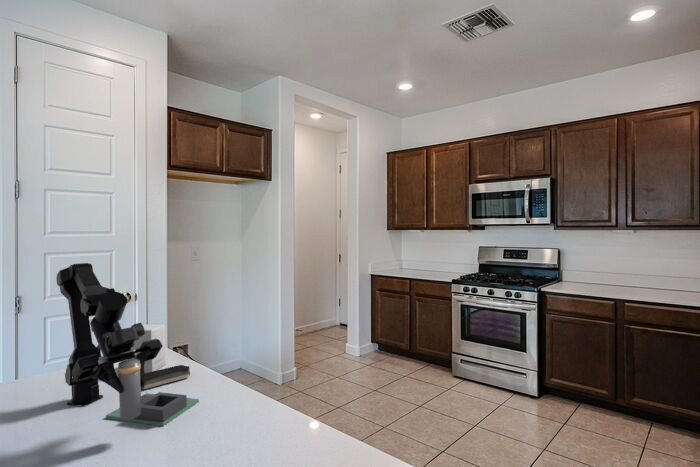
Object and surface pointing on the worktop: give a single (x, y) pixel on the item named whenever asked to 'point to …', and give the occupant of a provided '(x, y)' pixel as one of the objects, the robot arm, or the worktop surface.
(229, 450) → the worktop surface
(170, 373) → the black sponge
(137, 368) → the plug
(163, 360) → the supplement box
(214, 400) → the worktop surface
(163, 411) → the header board
